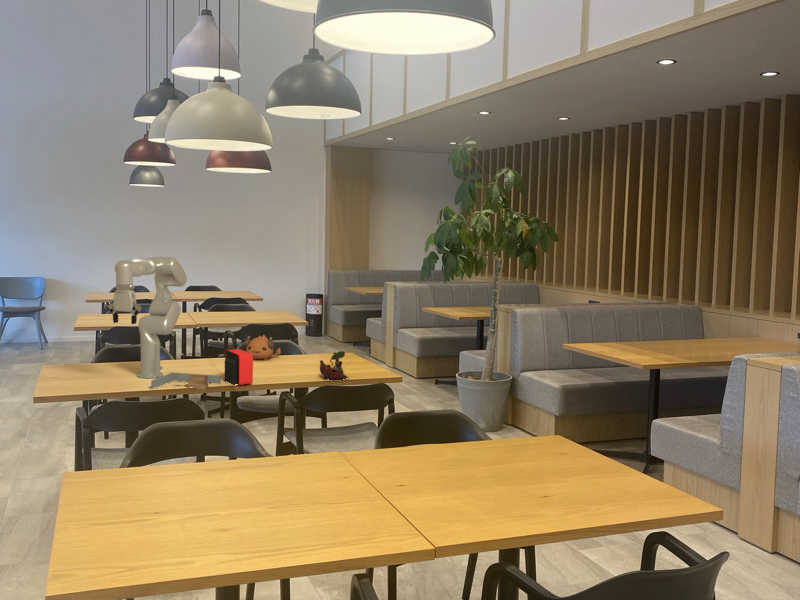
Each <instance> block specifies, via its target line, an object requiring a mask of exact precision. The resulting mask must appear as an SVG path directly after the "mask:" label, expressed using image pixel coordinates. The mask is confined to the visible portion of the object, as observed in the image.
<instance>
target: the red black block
mask: <svg viewBox="0 0 800 600" xmlns="http://www.w3.org/2000/svg"><path fill="white" fill-rule="evenodd" d="M224 353H225V354H224V382H226V381H227V382H229V383H231V384H233V385H235V384H238V385H237V386H245V384H247V385H252V384H253V383H254V359H253V355H252V354H251V353H248V352H247V351H246V350H243V349H240V348H237V349H226V350H225V352H224ZM227 382H226V383H227ZM229 383H228V384H229ZM231 384H230V385H231ZM233 385H232V386H233Z"/></svg>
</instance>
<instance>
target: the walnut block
mask: <svg viewBox="0 0 800 600" xmlns="http://www.w3.org/2000/svg"><path fill="white" fill-rule="evenodd" d="M192 374H193V375H191V376H188V385H187V386H188V387H193V388H198V389H197V390H206V389H208V388H209V383H208V375H209V374H205V375H194V374H195V373H192ZM188 387H187V388H188ZM207 387H208V388H207Z"/></svg>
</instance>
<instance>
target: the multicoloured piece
mask: <svg viewBox="0 0 800 600" xmlns="http://www.w3.org/2000/svg"><path fill="white" fill-rule="evenodd" d="M345 355H346V352H345V351H341V350H340V351H338V352H333V353H332V356H331V357H330V361H329V362H330V363H331V364H326V363H324V360H322V359H321V360H319V363H320V364H319V372H320V373H321V375H322V376H323V377H324V379H325V378H326V379H329V380H343V379H346V378H348V379H349V376H348V375H347V374H346V375H345V374H344V368H343V367H342V365H343V361H341V360H340V359H343V358H344V357H345ZM332 361H334V362H332ZM334 364H335V365H334Z"/></svg>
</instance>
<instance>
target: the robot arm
mask: <svg viewBox="0 0 800 600" xmlns="http://www.w3.org/2000/svg"><path fill="white" fill-rule="evenodd" d="M114 272H115V289H116V290H115V291H114V294H113V295H114V296H113V302H112V303H110V304H108V305H107V307H108V308H107V309H109V312H110V313H111V315H112V321H113V324H117V323H119V314H118V313H119V312H123V313H124V312H126V313H127V312H128V313H130V314H131V319H130V321H131V322H130V323H131V324H132V325H136V324H137V323H138V324H137V325H138V331H139V336H140V337H139V338H140V373H137V377H138V378H140V379H157V378H156V377H158V378H159V377H162V376H164V373H163V372H162V371H161V370H163V368H164V367H163V366H162V365H161V341H160V338H159V336H158V335H161V336H162V335H165V336H167V335H170V334H171V333H172V332H173V331H174V328H175V326H176V324H177V322H178V320H179V317H180V315H181V305H180V303H179V302H177V301H175V300H172V299H173V294H172V292H171V291H170V289H169V287H184V286H185V285H186V283H187V282H188V281H187V280H188V276H187V274H186V272H185V270H184V268H183V267H182V265H181V264H180V262H179V261H178V260H177V258H175V257H173V256H170V257H169V256H153V257H147V258H146V257H145V258H144V257H143V258H135V259H124V260H119V261H117V262H116V264H115V265H114ZM149 275H154V282H155V283H154V284H155V290H156V293H155V296H154V297H153V299H152V301H151V304H150V306H149V309H148V313H149V315H143V316H142V317H140V318H139V320H138V319H137V318H138V317H137V316H138V314H139V313H140V312H141V309H142V308H143V307H142V306H141V305H139V304H138V303H137V297H136V292H135V288H136V287H135V285H134V283H133V282H134V281H133V279H134V278H133V277H135V278H137V277H139V278H140V277H142V276H149ZM137 321H138V322H137Z"/></svg>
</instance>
